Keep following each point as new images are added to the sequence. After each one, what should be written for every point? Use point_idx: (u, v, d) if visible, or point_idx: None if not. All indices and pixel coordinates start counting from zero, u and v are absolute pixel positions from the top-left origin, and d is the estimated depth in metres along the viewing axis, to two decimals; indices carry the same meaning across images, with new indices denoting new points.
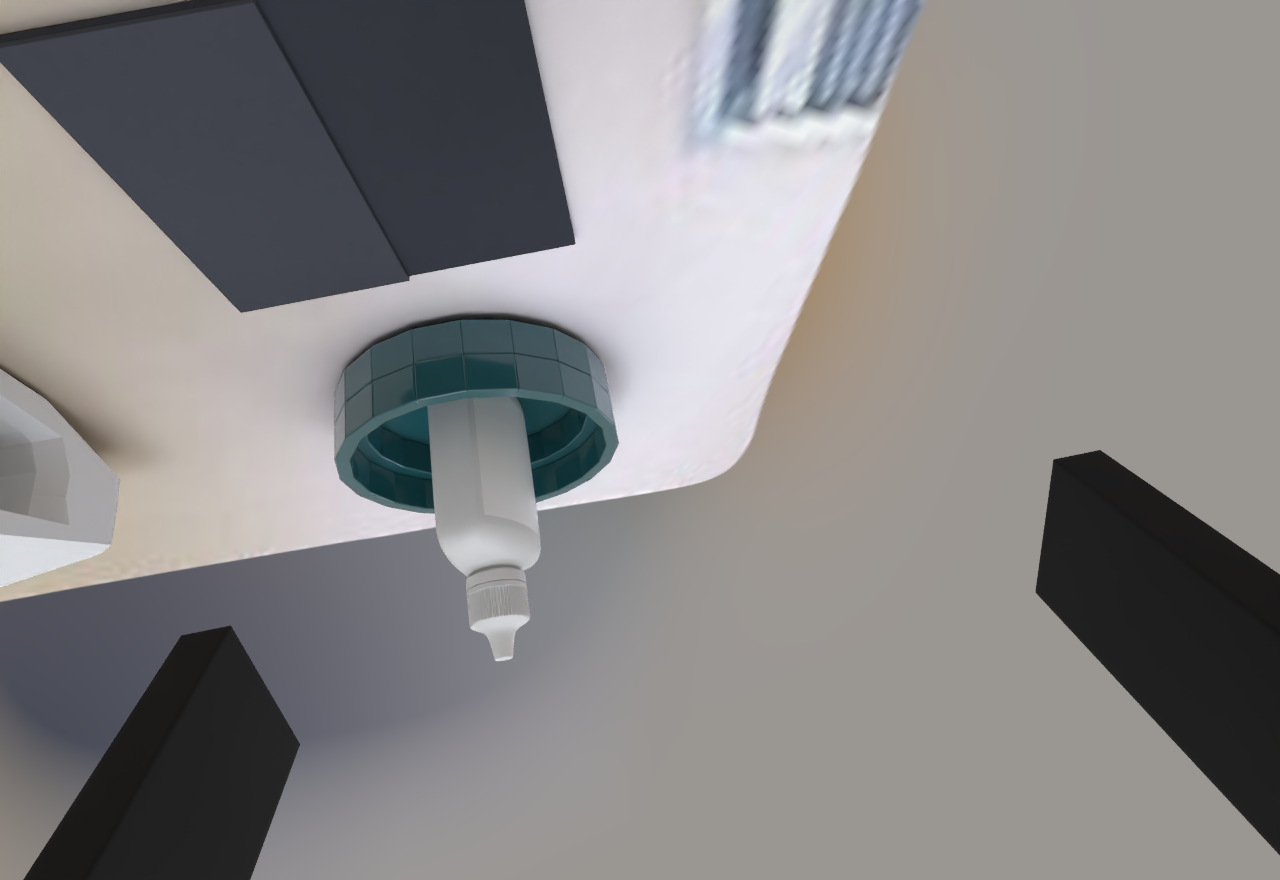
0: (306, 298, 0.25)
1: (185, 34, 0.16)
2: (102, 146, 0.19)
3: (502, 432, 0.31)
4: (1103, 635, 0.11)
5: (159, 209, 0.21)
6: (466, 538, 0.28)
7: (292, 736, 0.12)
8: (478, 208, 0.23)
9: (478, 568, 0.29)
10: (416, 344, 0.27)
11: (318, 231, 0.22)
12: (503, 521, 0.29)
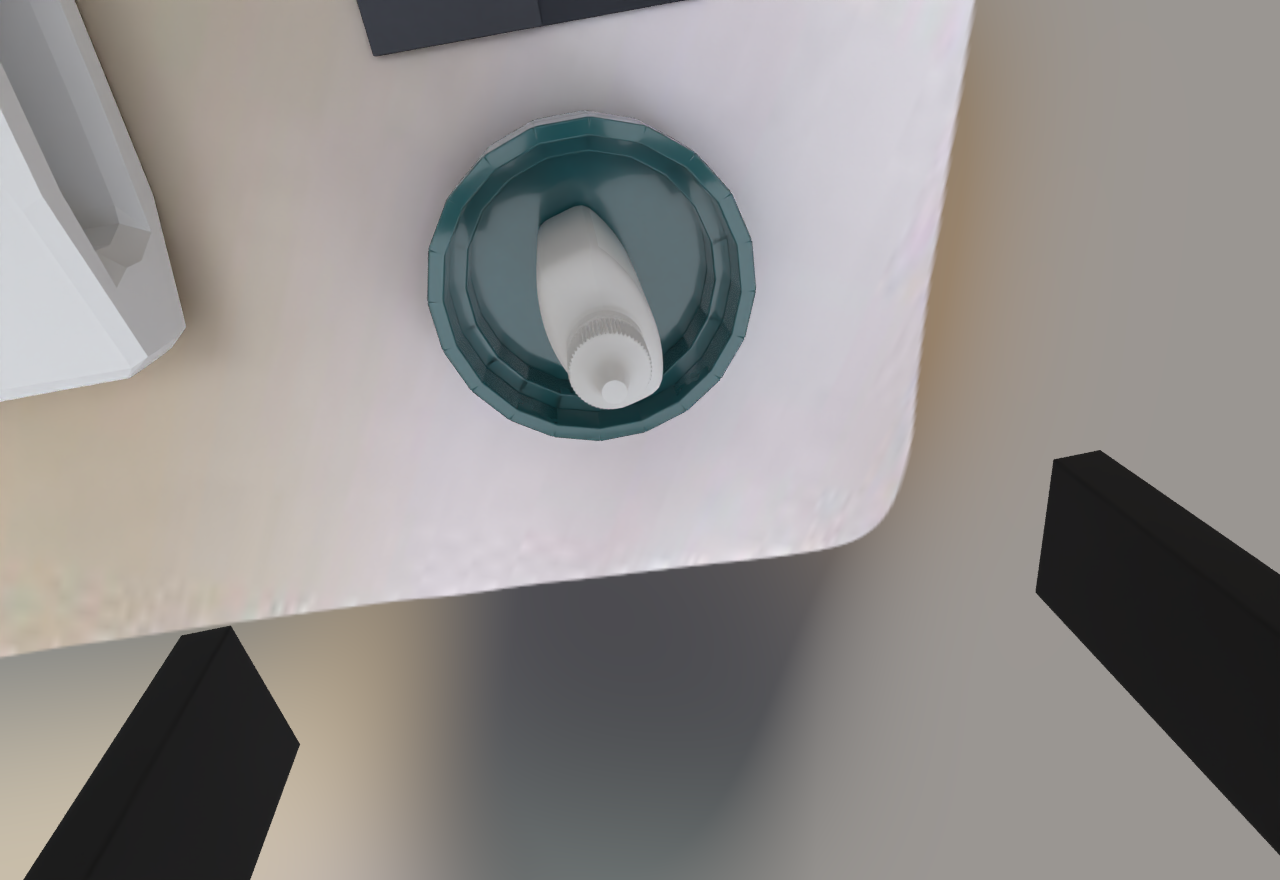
0: (439, 40, 0.25)
1: None
2: None
3: (620, 248, 0.26)
4: (1103, 635, 0.11)
5: None
6: (574, 262, 0.22)
7: (292, 736, 0.12)
8: None
9: (585, 317, 0.22)
10: (538, 120, 0.26)
11: None
12: (620, 267, 0.22)
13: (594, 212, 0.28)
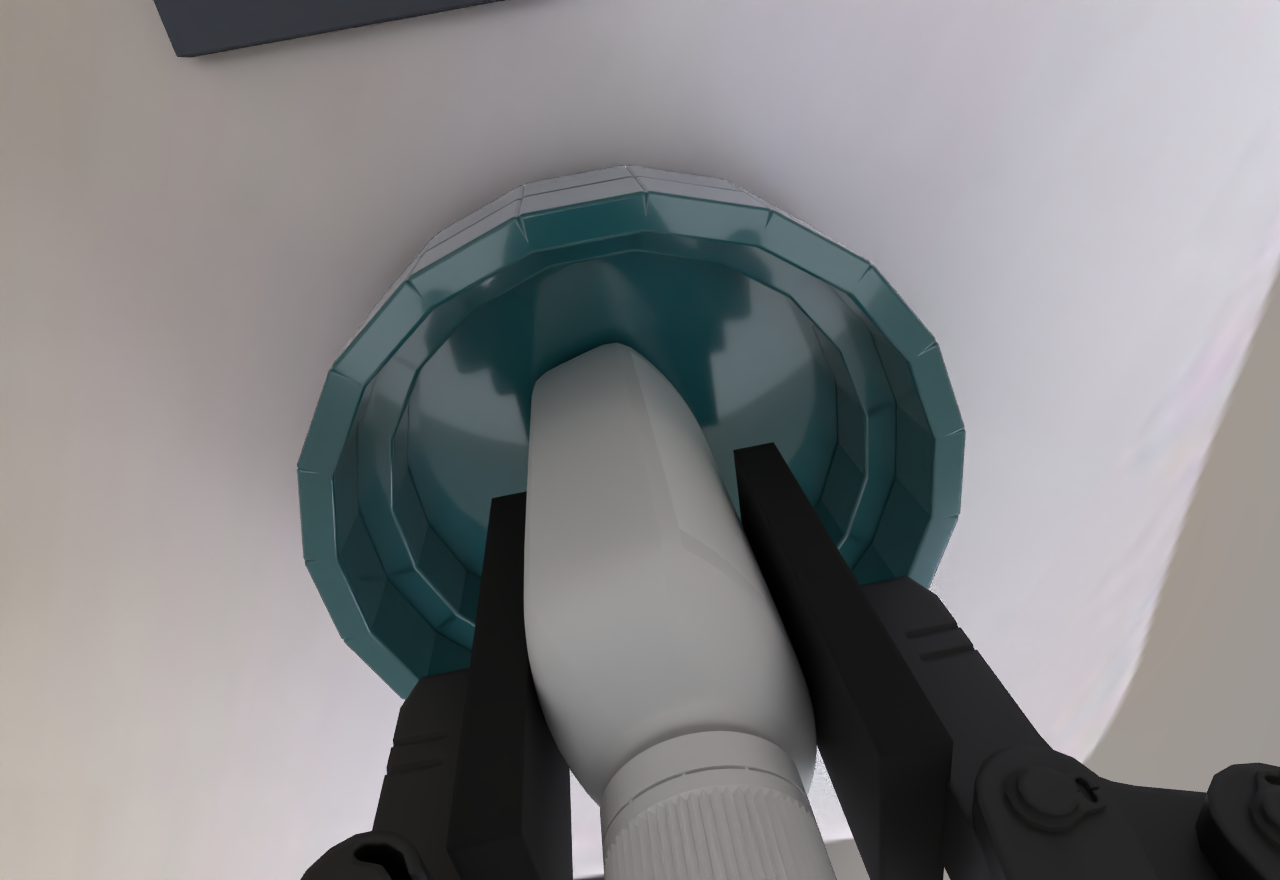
0: (318, 23, 0.12)
1: None
2: None
3: (698, 444, 0.13)
4: None
5: None
6: (621, 593, 0.08)
7: None
8: None
9: (651, 736, 0.08)
10: (530, 187, 0.13)
11: None
12: (733, 574, 0.09)
13: (640, 356, 0.14)
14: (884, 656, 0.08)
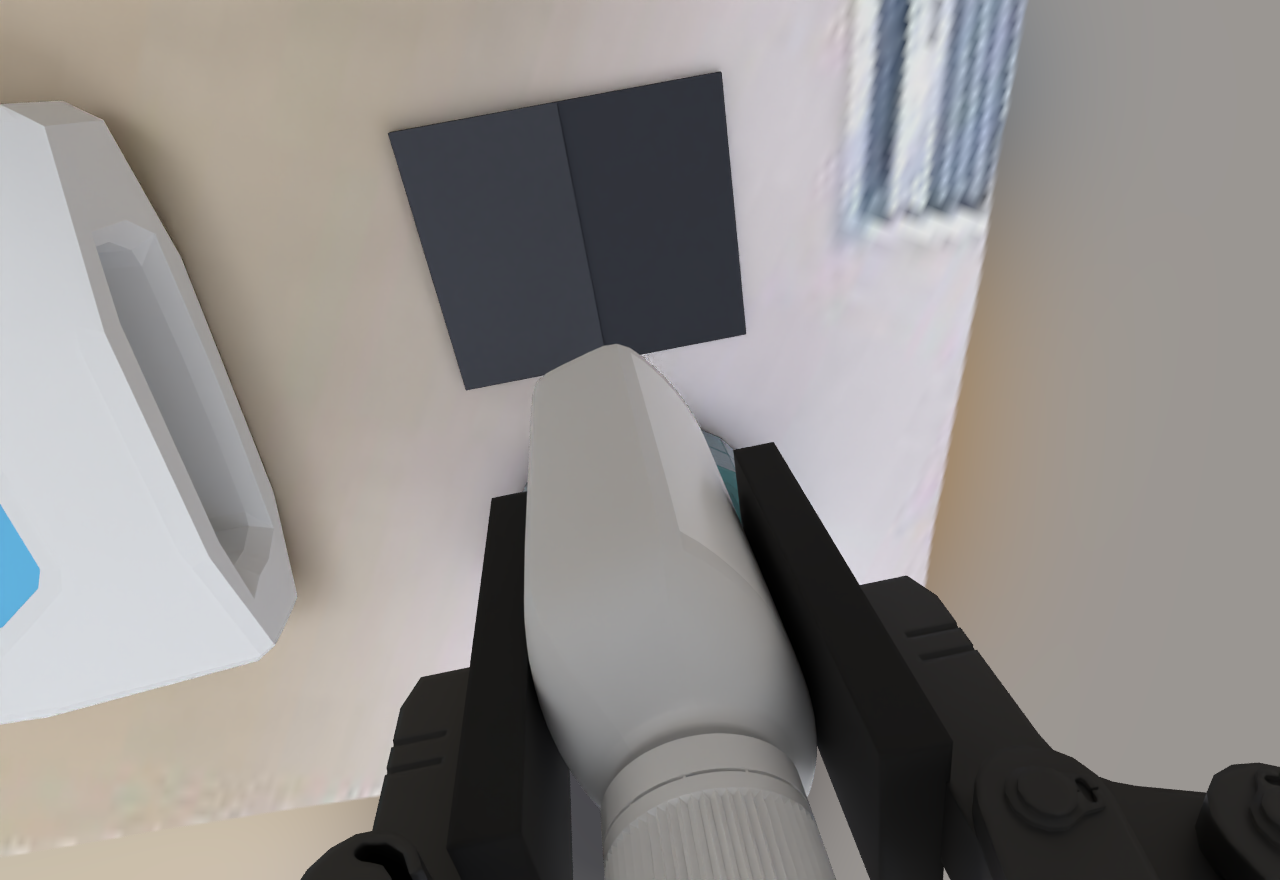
0: (521, 377, 0.30)
1: (508, 124, 0.25)
2: (425, 212, 0.26)
3: (698, 445, 0.13)
4: None
5: (441, 273, 0.27)
6: (621, 594, 0.08)
7: None
8: (672, 289, 0.29)
9: (651, 738, 0.08)
10: None
11: (548, 302, 0.28)
12: (734, 576, 0.09)
13: (640, 357, 0.14)
14: (884, 656, 0.08)
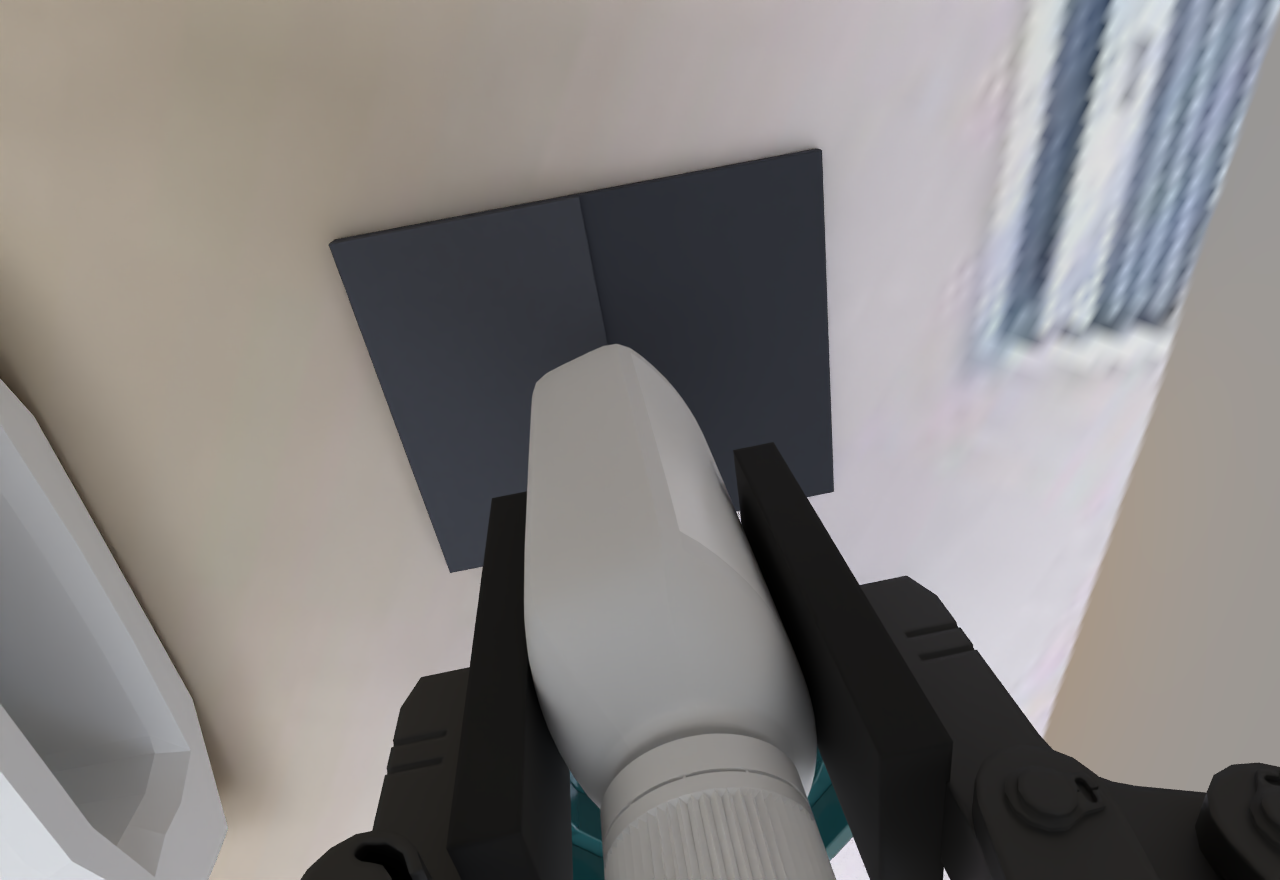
0: None
1: (507, 229, 0.17)
2: (387, 351, 0.18)
3: (698, 445, 0.13)
4: None
5: (413, 428, 0.19)
6: (621, 594, 0.08)
7: None
8: (736, 439, 0.21)
9: (651, 738, 0.08)
10: None
11: None
12: (734, 576, 0.09)
13: (640, 357, 0.14)
14: (884, 656, 0.08)
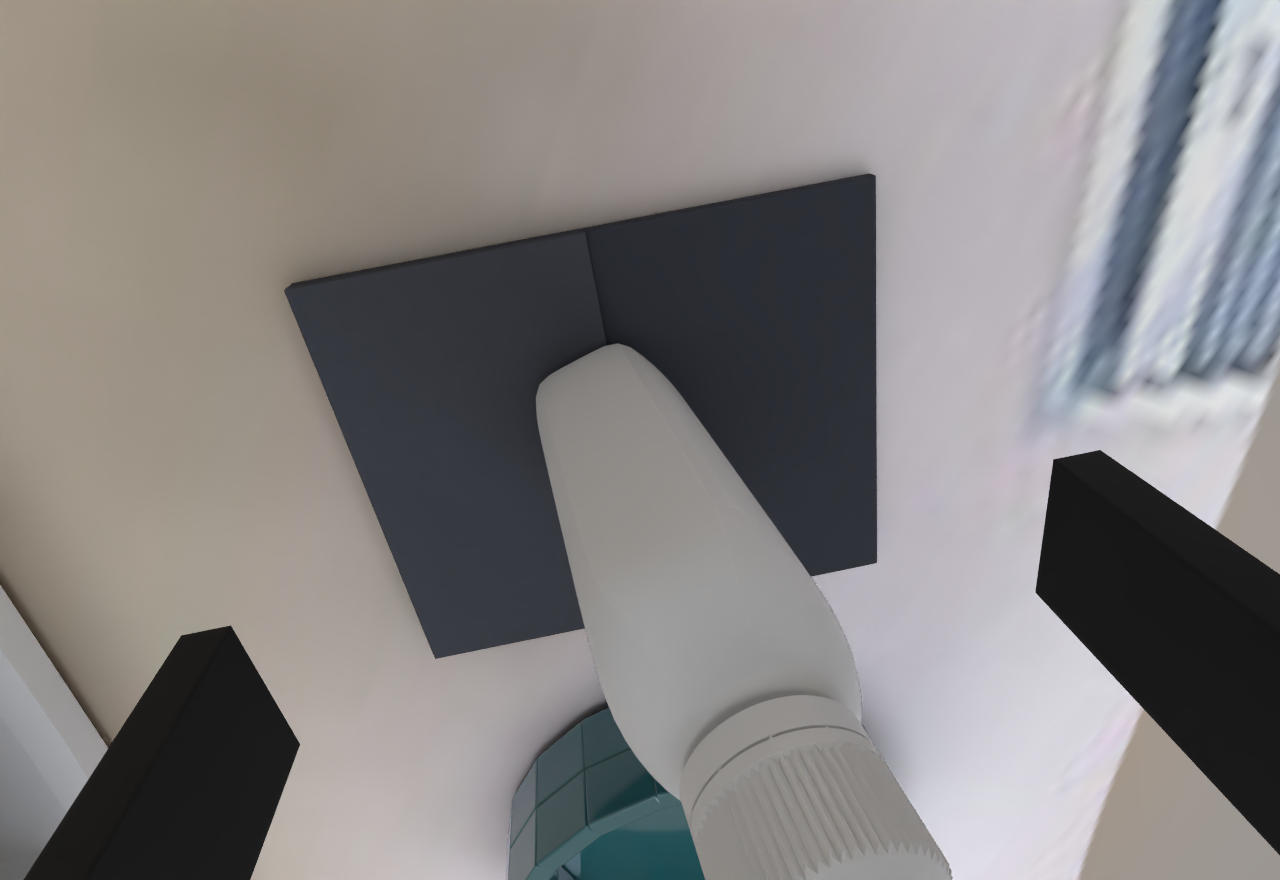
0: (523, 638, 0.19)
1: (499, 271, 0.14)
2: (358, 412, 0.15)
3: (710, 436, 0.13)
4: (1103, 635, 0.11)
5: (389, 501, 0.16)
6: (690, 571, 0.08)
7: (292, 736, 0.12)
8: (767, 507, 0.18)
9: (726, 706, 0.08)
10: None
11: None
12: (784, 549, 0.09)
13: (641, 355, 0.15)
14: None
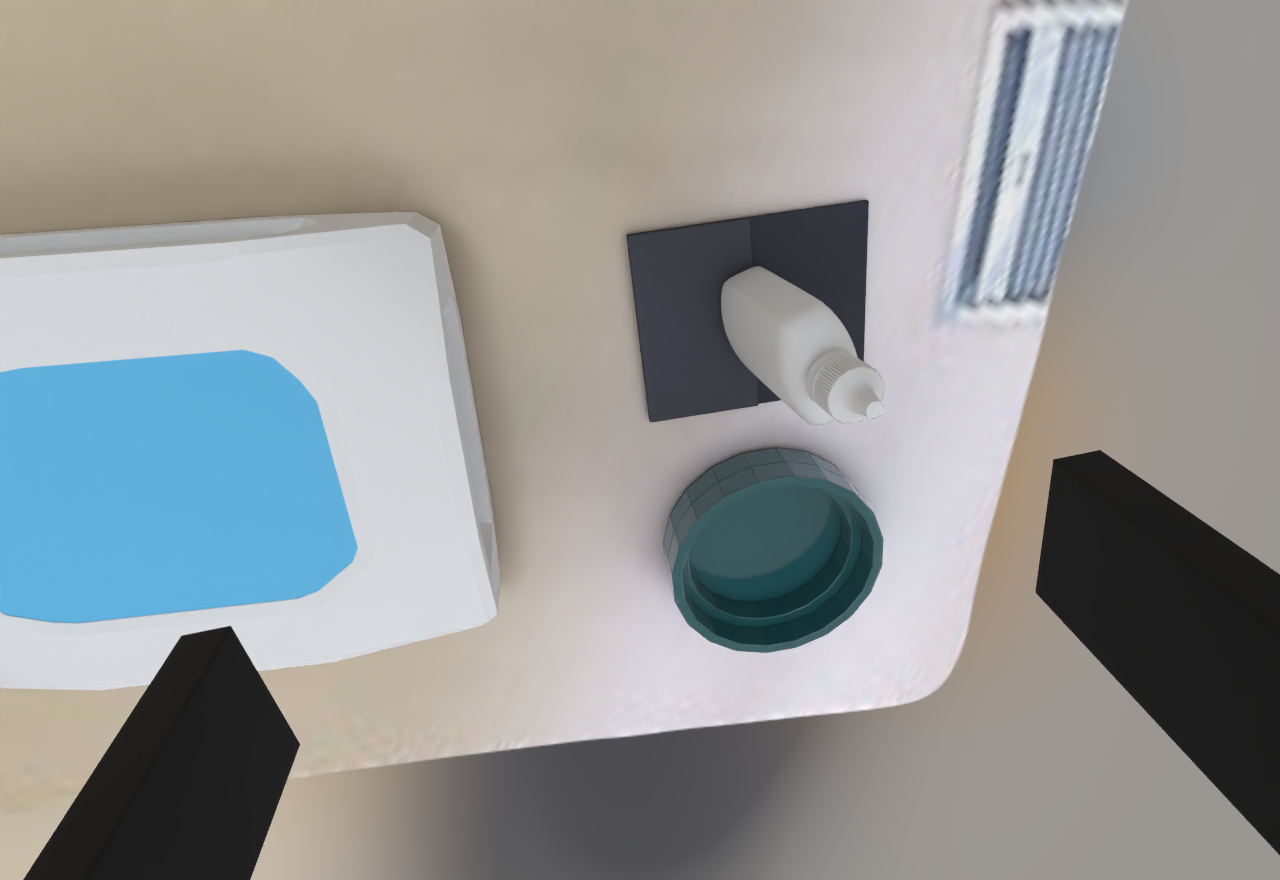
0: (693, 414, 0.39)
1: (713, 233, 0.34)
2: (644, 292, 0.35)
3: None
4: (1103, 635, 0.11)
5: (648, 335, 0.36)
6: (811, 314, 0.29)
7: (292, 736, 0.12)
8: None
9: (821, 355, 0.29)
10: (748, 458, 0.40)
11: (722, 359, 0.37)
12: (837, 317, 0.30)
13: None
14: None
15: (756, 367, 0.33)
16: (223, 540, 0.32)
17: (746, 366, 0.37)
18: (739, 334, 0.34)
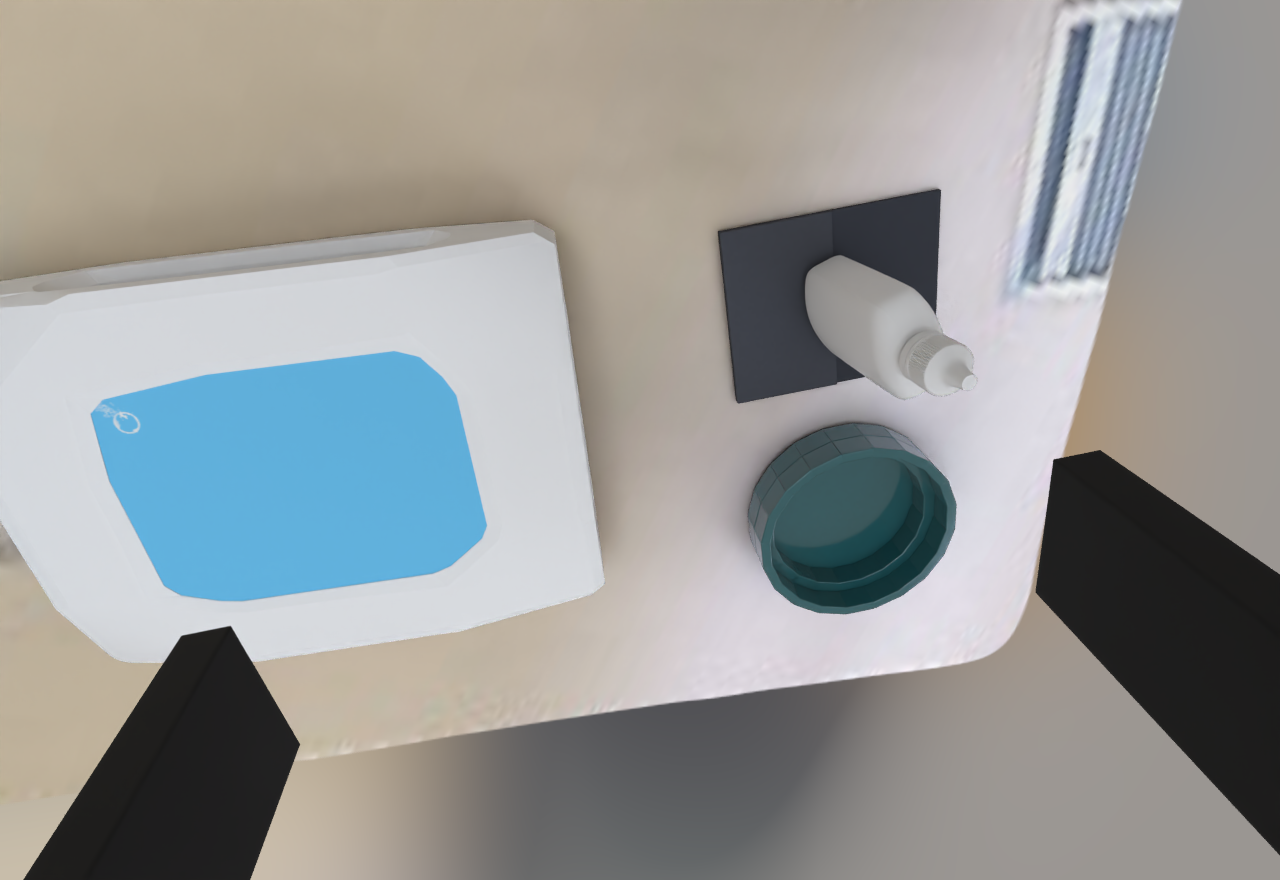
0: (777, 394, 0.42)
1: (798, 226, 0.37)
2: (733, 283, 0.38)
3: None
4: (1103, 635, 0.11)
5: (737, 323, 0.39)
6: (903, 298, 0.32)
7: (292, 736, 0.12)
8: None
9: (913, 335, 0.32)
10: (828, 434, 0.43)
11: (804, 342, 0.40)
12: (924, 300, 0.33)
13: None
14: None
15: (843, 348, 0.36)
16: (370, 522, 0.36)
17: (828, 348, 0.40)
18: (825, 319, 0.37)
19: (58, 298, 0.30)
